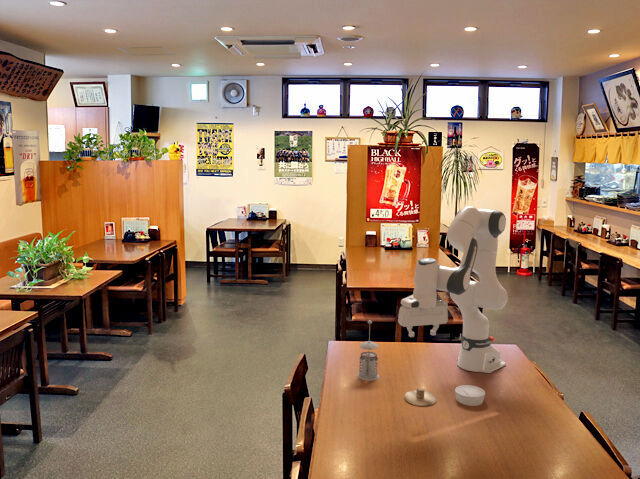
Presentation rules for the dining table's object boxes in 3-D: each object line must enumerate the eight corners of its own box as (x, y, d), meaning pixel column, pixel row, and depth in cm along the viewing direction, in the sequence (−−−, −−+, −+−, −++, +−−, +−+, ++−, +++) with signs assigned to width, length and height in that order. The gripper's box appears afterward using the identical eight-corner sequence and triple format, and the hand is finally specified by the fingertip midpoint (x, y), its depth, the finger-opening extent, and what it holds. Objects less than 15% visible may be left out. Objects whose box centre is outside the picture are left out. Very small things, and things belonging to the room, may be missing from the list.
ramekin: (448, 403, 217) (449, 390, 216) (463, 394, 225) (464, 382, 224) (475, 413, 209) (476, 399, 208) (489, 403, 217) (490, 390, 217)
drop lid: (420, 390, 225) (421, 381, 225) (442, 401, 215) (443, 392, 215) (398, 396, 219) (398, 387, 218) (419, 408, 209) (419, 399, 208)
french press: (380, 372, 246) (382, 317, 242) (378, 383, 234) (380, 325, 230) (358, 370, 247) (359, 316, 243) (355, 381, 236) (356, 324, 232)
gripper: (443, 297, 221) (441, 331, 223) (397, 300, 214) (395, 335, 216) (452, 301, 216) (449, 336, 217) (405, 304, 208) (403, 340, 210)
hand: (422, 335), depth 217 cm, fingers open, 8 cm apart
